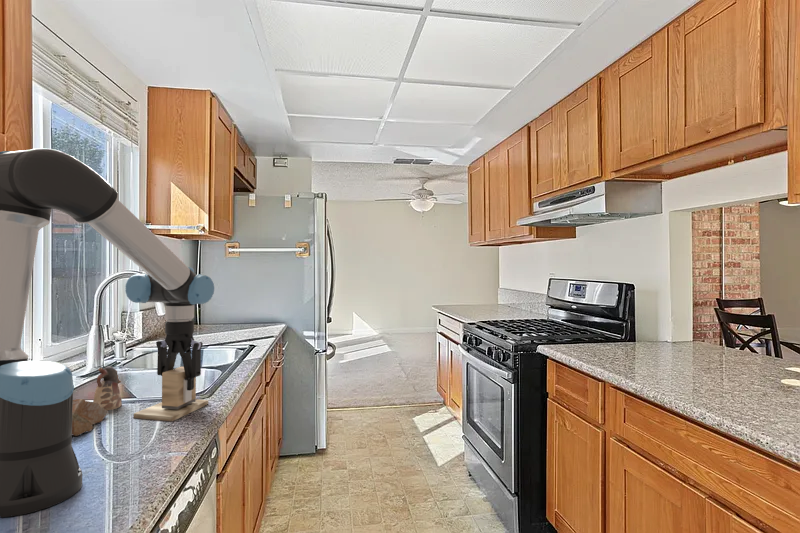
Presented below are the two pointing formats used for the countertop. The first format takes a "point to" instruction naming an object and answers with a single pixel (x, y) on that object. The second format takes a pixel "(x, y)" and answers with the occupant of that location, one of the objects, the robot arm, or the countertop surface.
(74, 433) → the stone
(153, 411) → the board
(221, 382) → the countertop surface
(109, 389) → the figurine
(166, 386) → the block
